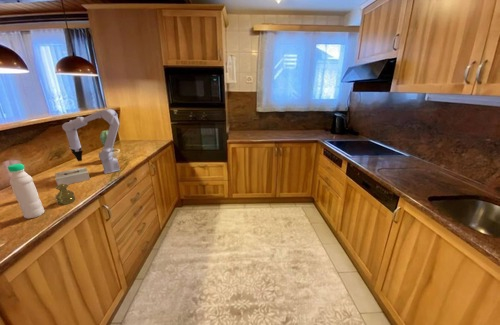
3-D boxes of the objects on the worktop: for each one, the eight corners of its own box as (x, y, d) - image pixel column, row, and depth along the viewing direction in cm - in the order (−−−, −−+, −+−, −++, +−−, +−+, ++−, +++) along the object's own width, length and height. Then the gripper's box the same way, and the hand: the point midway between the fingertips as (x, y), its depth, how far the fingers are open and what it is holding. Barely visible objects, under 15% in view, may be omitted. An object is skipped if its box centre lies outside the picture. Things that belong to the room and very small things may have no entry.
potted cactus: (111, 164, 170) (103, 132, 162) (96, 162, 174) (88, 132, 166) (126, 158, 184) (120, 129, 176) (112, 157, 188) (105, 128, 180)
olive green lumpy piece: (64, 198, 116) (59, 181, 112) (79, 198, 116) (74, 181, 113) (53, 205, 109) (47, 187, 106) (69, 205, 109) (63, 187, 106)
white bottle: (47, 213, 102) (29, 163, 94) (27, 221, 96) (5, 168, 88) (41, 209, 105) (23, 161, 97) (22, 216, 100) (0, 166, 91)
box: (87, 173, 150) (85, 167, 149) (90, 179, 140) (88, 172, 139) (57, 180, 140) (55, 173, 139) (58, 186, 131) (55, 179, 129)
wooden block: (78, 178, 143) (76, 171, 142) (79, 179, 141) (77, 172, 140) (69, 180, 140) (67, 173, 138) (69, 181, 138) (67, 174, 137)
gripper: (65, 139, 146) (71, 158, 150) (66, 143, 135) (72, 163, 140) (78, 137, 150) (83, 156, 154) (80, 141, 140) (86, 161, 144)
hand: (79, 159), depth 147 cm, fingers open, 7 cm apart
